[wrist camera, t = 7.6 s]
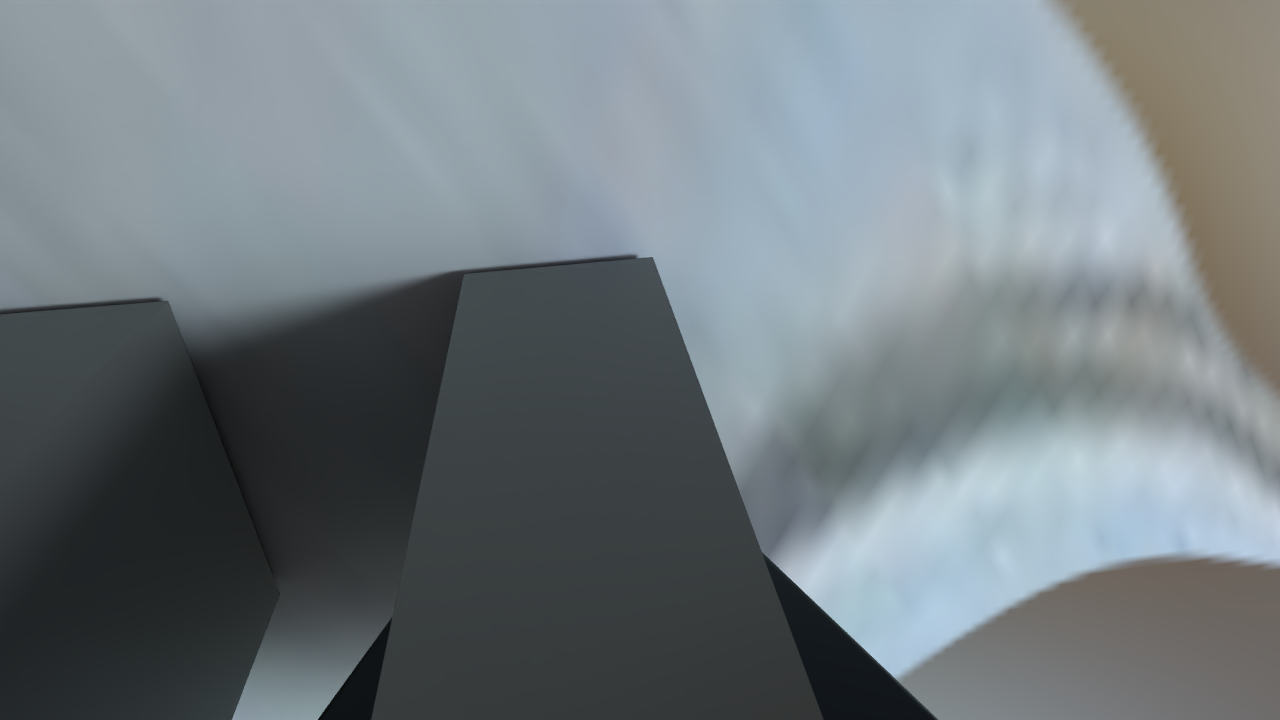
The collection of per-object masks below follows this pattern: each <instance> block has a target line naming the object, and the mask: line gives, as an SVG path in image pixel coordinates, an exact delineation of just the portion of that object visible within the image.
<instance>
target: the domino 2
mask: <svg viewBox="0 0 1280 720" xmlns="http://www.w3.org/2000/svg"><path fill="white" fill-rule="evenodd" d="M371 720H824V719H823V717H822V714H821V711H820V709H819V706H818V703H817V700H816V698H815V695H814V692H813V690H812V687H811V684H810V682H809V679H808V676H807V673H806V671H805V668H804V665H803V663H802V660H801V657H800V655H799V652H798V649H797V646H796V644H795V641H794V638H793V636H792V633H791V630H790V627H789V625H788V622H787V619H786V617H785V614H784V611H783V609H782V606H781V603H780V600H779V598H778V595H777V592H776V590H775V587H774V584H773V581H772V579H771V576H770V573H769V571H768V568H767V565H766V563H765V560H764V557H763V554H762V552H761V549H760V546H759V544H758V541H757V538H756V535H755V533H754V530H753V527H752V525H751V522H750V519H749V517H748V514H747V511H746V508H745V506H744V503H743V500H742V498H741V495H740V492H739V489H738V487H737V484H736V481H735V479H734V476H733V473H732V471H731V468H730V465H729V462H728V460H727V457H726V454H725V452H724V449H723V446H722V444H721V441H720V438H719V435H718V433H717V430H716V427H715V425H714V422H713V419H712V416H711V414H710V411H709V408H708V406H707V403H706V400H705V398H704V395H703V392H702V389H701V387H700V384H699V381H698V379H697V376H696V373H695V370H694V368H693V365H692V362H691V360H690V357H689V354H688V352H687V349H686V346H685V343H684V341H683V338H682V335H681V333H680V330H679V327H678V324H677V322H676V319H675V316H674V314H673V311H672V308H671V306H670V303H669V300H668V297H667V295H666V292H665V289H664V287H663V284H662V281H661V278H660V276H659V273H658V270H657V268H656V265H655V262H654V260H653V257H649V258H638V259H627V260H616V261H604V262H593V263H582V264H571V265H560V266H548V267H537V268H526V269H515V270H503V271H492V272H481V273H470V274H464V276H463V281H462V286H461V291H460V296H459V300H458V305H457V310H456V315H455V320H454V324H453V329H452V334H451V339H450V344H449V348H448V353H447V358H446V363H445V368H444V372H443V377H442V382H441V387H440V392H439V396H438V401H437V406H436V411H435V416H434V420H433V425H432V430H431V435H430V440H429V444H428V449H427V454H426V459H425V464H424V468H423V473H422V478H421V483H420V488H419V493H418V497H417V502H416V507H415V512H414V517H413V521H412V526H411V531H410V536H409V541H408V545H407V550H406V555H405V560H404V565H403V569H402V574H401V579H400V584H399V589H398V593H397V598H396V603H395V608H394V613H393V617H392V622H391V627H390V632H389V637H388V641H387V646H386V651H385V656H384V661H383V665H382V670H381V675H380V680H379V685H378V689H377V694H376V699H375V704H374V709H373V713H372V718H371Z"/></svg>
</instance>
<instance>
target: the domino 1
mask: <svg viewBox="0 0 1280 720" xmlns="http://www.w3.org/2000/svg"><path fill="white" fill-rule="evenodd" d="M278 597H279V591H278V588H277V586H276V583H275V581H274V578H273V575H272V573H271V570H270V567H269V565H268V562H267V560H266V557H265V554H264V552H263V549H262V546H261V544H260V541H259V539H258V536H257V533H256V531H255V528H254V525H253V523H252V520H251V518H250V515H249V512H248V510H247V507H246V504H245V502H244V499H243V497H242V494H241V491H240V489H239V486H238V483H237V481H236V478H235V476H234V473H233V470H232V468H231V465H230V462H229V460H228V457H227V454H226V452H225V449H224V447H223V444H222V441H221V439H220V436H219V433H218V431H217V428H216V426H215V423H214V420H213V418H212V415H211V412H210V410H209V407H208V405H207V402H206V399H205V397H204V394H203V391H202V389H201V386H200V384H199V381H198V378H197V376H196V373H195V370H194V368H193V365H192V363H191V360H190V357H189V355H188V352H187V349H186V347H185V344H184V342H183V339H182V336H181V334H180V331H179V328H178V326H177V323H176V321H175V318H174V315H173V313H172V310H171V307H170V305H169V302H168V301H160V302H148V303H135V304H123V305H110V306H98V307H86V308H73V309H61V310H49V311H36V312H24V313H11V314H0V720H232V718H233V715H234V712H235V710H236V707H237V705H238V702H239V699H240V697H241V694H242V691H243V689H244V686H245V684H246V681H247V678H248V676H249V673H250V670H251V668H252V665H253V663H254V660H255V657H256V655H257V652H258V650H259V647H260V644H261V642H262V639H263V636H264V634H265V631H266V629H267V626H268V623H269V621H270V618H271V615H272V613H273V610H274V608H275V605H276V602H277V600H278Z"/></svg>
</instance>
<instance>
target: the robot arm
mask: <svg viewBox="0 0 1280 720" xmlns="http://www.w3.org/2000/svg"><path fill="white" fill-rule="evenodd" d="M762 554H763V553H762ZM763 557H764V560H765V563H766V565H767V568H768V571H769V573H770V576H771V579H772V581H773V584H774V587H775V590H776V592H777V595H778V598H779V600H780V603H781V606H782V609H783V611H784V614H785V617H786V619H787V622H788V625H789V627H790V630H791V633H792V636H793V638H794V641H795V644H796V646H797V649H798V652H799V655H800V657H801V660H802V663H803V665H804V668H805V671H806V673H807V676H808V679H809V682H810V684H811V687H812V690H813V692H814V695H815V698H816V700H817V703H818V706H819V709H820V711H821V714H822V717H823V719H824V720H938V719H937V718H936V717H935V716H934V715H933V714H932V713H931V712H929V710H928V709H926V708H925V707H924V706H923V705H922V704H921V703H920V702H919V701H918V700H917V699H916V698H915V697H914V696H913V695H912V694H911V693H910V692H909V691H908V690H907V689H905V688H904V687H903V686H902V685H901V684H900V683H899V682H898V681H897V680H896V679H895V678H894V677H893V676H892V675H891V674H890V673H889V672H888V671H887V670H885V669H884V668H883V667H882V666H881V665H880V664H879V663H878V662H877V661H876V660H875V659H874V658H873V657H872V656H871V655H870V654H869V653H868V652H867V651H865V650H864V649H863V648H862V647H861V646H860V645H859V644H858V643H857V642H856V641H855V640H854V639H853V638H852V637H851V636H850V635H849V634H848V633H847V632H845V631H844V630H843V629H842V628H841V627H840V626H839V625H838V624H837V623H836V622H835V621H834V620H833V619H832V618H831V617H830V616H829V615H828V614H826V613H825V612H824V611H823V610H822V609H821V608H820V607H819V606H818V605H817V604H816V603H815V602H814V601H813V600H812V599H811V598H810V597H809V596H808V595H806V594H805V593H804V592H803V591H802V590H801V589H800V588H799V587H798V586H797V585H796V584H795V583H794V582H793V581H792V580H791V579H790V578H789V577H788V576H786V575H785V574H784V573H783V572H782V571H781V570H780V569H779V568H778V567H777V566H776V565H775V564H774V563H773V562H772V561H771V560H770V559H769V558H768V557H766V556H765V555H764V554H763ZM391 622H392V618H391V619H390V621H389V622H388V623H387V625H386V626H385V628H384V629H383V630H382V632H381V633H380V635H379V636H378V637H377V639H376V640H375V641H374V643H373V644H372V646H371V647H370V648H369V650H368V651H367V652H366V654H365V655H364V657H363V658H362V659H361V661H360V662H359V664H358V665H357V666H356V668H355V669H354V670H353V672H352V673H351V675H350V676H349V677H348V679H347V680H346V681H345V683H344V684H343V686H342V687H341V688H340V690H339V691H338V692H337V694H336V695H335V697H334V698H333V699H332V701H331V702H330V704H329V705H328V706H327V708H326V709H325V710H324V712H323V713H322V715H321V716H320V717H319V719H318V720H371V718H372V713H373V709H374V704H375V699H376V694H377V689H378V685H379V680H380V675H381V670H382V665H383V661H384V656H385V651H386V646H387V641H388V637H389V632H390V627H391Z"/></svg>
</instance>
